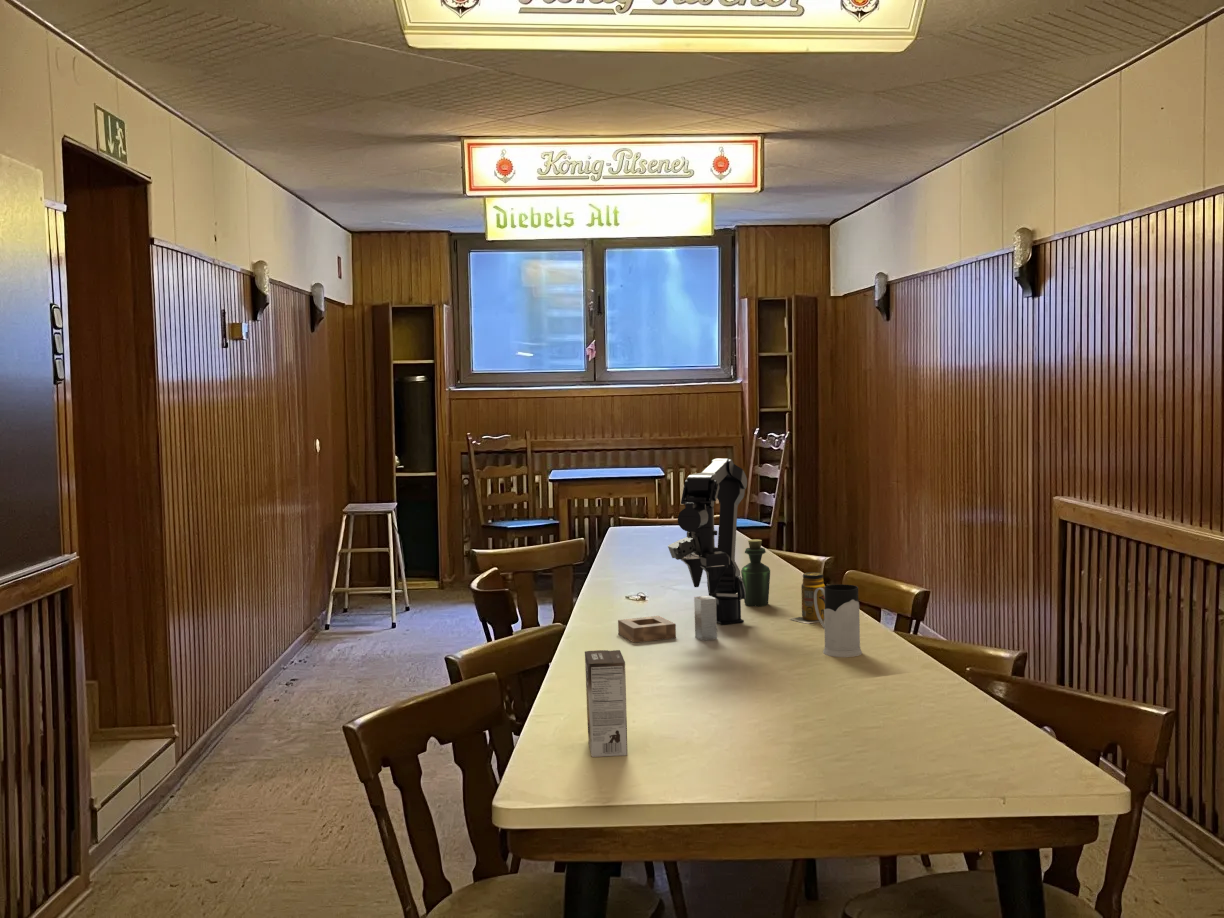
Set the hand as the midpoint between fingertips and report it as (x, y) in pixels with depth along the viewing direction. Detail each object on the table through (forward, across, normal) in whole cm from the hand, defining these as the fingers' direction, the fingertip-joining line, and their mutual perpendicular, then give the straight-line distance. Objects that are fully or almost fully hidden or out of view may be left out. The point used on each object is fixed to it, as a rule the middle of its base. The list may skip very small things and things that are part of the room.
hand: (704, 590), depth 277 cm
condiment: (+12, -7, +33) cm, 36 cm away
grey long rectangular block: (+12, 0, 0) cm, 12 cm away
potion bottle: (+12, -32, +30) cm, 45 cm away
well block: (+12, -9, -12) cm, 19 cm away
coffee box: (+12, +70, -49) cm, 86 cm away
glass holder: (+12, +25, +21) cm, 35 cm away
